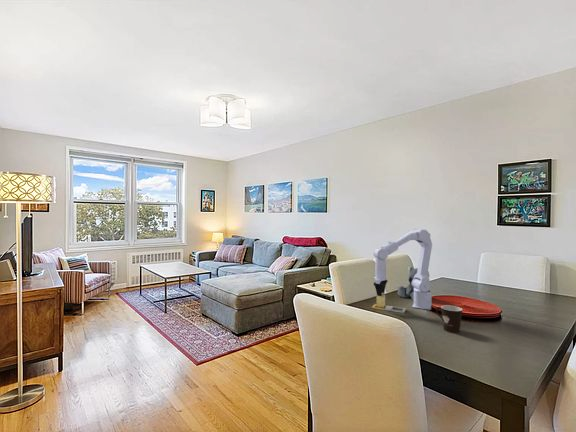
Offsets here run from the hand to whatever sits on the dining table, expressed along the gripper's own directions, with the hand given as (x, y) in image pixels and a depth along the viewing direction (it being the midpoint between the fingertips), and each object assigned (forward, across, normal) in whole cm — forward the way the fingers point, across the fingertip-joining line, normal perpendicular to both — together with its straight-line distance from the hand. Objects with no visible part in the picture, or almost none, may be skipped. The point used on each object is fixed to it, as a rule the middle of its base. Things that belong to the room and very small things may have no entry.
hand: (380, 294), depth 171 cm
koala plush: (+8, -32, +15) cm, 36 cm away
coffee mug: (+8, +17, +34) cm, 39 cm away
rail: (+8, 0, +4) cm, 9 cm away
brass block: (+8, 0, 0) cm, 8 cm away
